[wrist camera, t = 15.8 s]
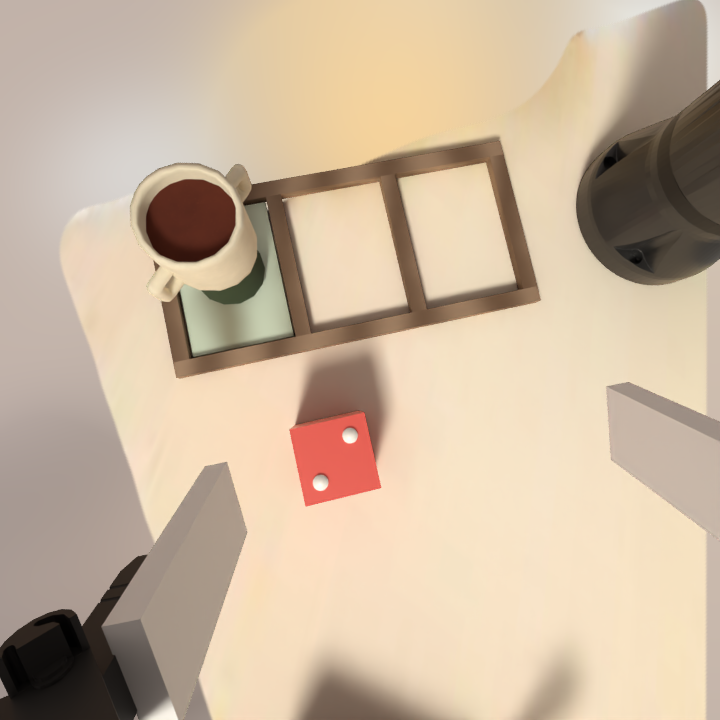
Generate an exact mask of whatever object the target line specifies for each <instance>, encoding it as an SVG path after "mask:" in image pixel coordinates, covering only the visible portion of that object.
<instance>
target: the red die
mask: <svg viewBox="0 0 720 720" xmlns="http://www.w3.org/2000/svg"><path fill="white" fill-rule="evenodd" d="M290 435H291V439H292V444H293V449H294V454H295V458H296V463H297V468H298V473H299V477H300V482H301V487H302V492H303V496H304V501H305V506H310V505H314V504H318V503H322V502H326V501H330V500H334V499H338V498H342V497H346V496H350V495H354V494H358V493H362V492H366V491H371V490H375V489H379V488H381V485H380V480H379V476H378V471H377V467H376V462H375V458H374V453H373V449H372V444H371V440H370V435H369V431H368V427H367V422H366V418H365V413H364V412H362V411H354V412H350V413H346V414H341V415H337V416H332V417H328V418H324V419H319V420H315V421H311V422H306V423H302V424H297V425H294V426H293V427H292V428H291V429H290Z"/></svg>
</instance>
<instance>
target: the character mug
mask: <svg viewBox="0 0 720 720" xmlns="http://www.w3.org/2000/svg"><path fill="white" fill-rule="evenodd" d="M251 186H252V185H251V182H250V179H249V177H248V174H247V171H246V170H245V168H244V167H243V166H242V165H239V164H236V165H234V167H232V168H231V170H230V171H229V173H228V174H227V175H226V177H224V176H223V175H222V174H221V173H220V172H219V171H217V170H214V169H212V168H209V167H207V166H204V165H201V164H198V163H175V164H172V165H168V166H165V167H162V168H159V169H157V170H156V171H154V172H153V173H151V174H150V175H148V176H147V177H146V178H145V179H144V180H143V181H142V182H141V183H140V184H139V186H138V188H137V189H136V191H135V193H134V196H133V199H132V202H131V205H130V221H131V227H132V230H133V232H134V234H135V237H136V239H137V241H138V244H139V245H140V247H141V248H142V249H143V250H144V251H145V252H146V253H147V254H148V255H149V256H150V257H151V258H152V259H153V260H154V261H155V262H156V263H157V264H158V265H160V267H159V268H158V269H157V271H156V272H155V274H154V275H153V276H152V278H151V279H150V280H149V282H148V284H147V286H146V287H147V290H148V291H149V293H150V294H151V295H152V296H154V297H156V298H157V299H159V300H161V301H164V302H170V301H171V300H172V299H173V298H174V297H175V296H176V295H177V293H178V292H179V291H180V289H181V288H182V287H183V285H184V284H186V285H188V286H191V287H193V288H195V289H198V290H201V291H202V292H203V293H204V294H205V295H206V296H207V297H208V298H209V299H210V300H213V301H216V302H219V303H221V304H224V305H226V304H241V303H242V302H244V301H246V300H248V299H250V298H252V297H254V296H255V294H256V293H257V292H258V290H259V289H260V287H261V286H262V284H263V280H264V273H265V266H264V263H263V260H262V257H261V254H260V253H259V251H258V250H257V235H256V233H255V231H254V228H253V226H252V224H251V221H250V219H249V217H248V214H247V212H246V210H245V207H244V205H243V202H244V200H245V199H246V198H247V196H248V195H249V193H250V191H251ZM172 275H173V276H172Z"/></svg>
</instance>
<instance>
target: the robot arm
mask: <svg viewBox="0 0 720 720" xmlns="http://www.w3.org/2000/svg"><path fill="white" fill-rule="evenodd" d="M577 217H578V222H579V226H580V230H581V233H582V235H583V237H584V240H585V242H586V243H587V245H588V247H589V249H590V250H591V252H592V253H593V254H594V256H595V257H596V258H597V259H598V260H599V261H600V262H601V263H602V264H603V265H604V266H605V267H606V268H608V269H609V270H610V271H612V272H613V273H615V274H616V275H618V276H620V277H622V278H624V279H626V280H629V281H632V282H635V283H639V284H645V285H663V284H669V283H673V282H676V281H679V280H682V279H685V278H688V277H690V276H693V275H696V274H698V273H700V272H702V271H703V270H705V269H707V268H708V267H710V266H711V265H713V264H714V263H715V262H716V261H717V260H719V259H720V80H719V81H718V82H717V83H716V84H715V85H713V86H712V87H711V88H710V89H708V90H707V91H706V92H705V93H703V94H702V95H701V96H700V97H699V98H697V99H696V100H695V101H694V102H692V103H691V104H690V105H689V106H688V107H686V108H685V109H684V110H683V111H681V112H680V113H679V114H678V115H676V116H674V117H672V118H669V119H667V120H664V121H661V122H659V123H656V124H654V125H651V126H649V127H646V128H643V129H641V130H638V131H636V132H633V133H631V134H628V135H626V136H624V137H623V138H621V139H619V140H618V141H616V142H615V143H613V144H612V145H611V146H610V147H609V148H607V149H606V150H605V151H604V152H603V153H602V154H601V155H600V156H598V157H597V158H596V159H595V160H594V161H593V163H592V164H591V165H590V166H589V168H588V169H587V171H586V172H585V174H584V176H583V178H582V181H581V183H580V187H579V191H578V196H577ZM606 390H607V406H608V422H609V437H610V453H611V460H612V461H613V462H615V463H616V464H617V465H619V466H620V467H621V468H623V469H624V470H625V471H627V472H628V473H629V474H631V475H632V476H633V477H635V478H636V479H637V480H639V481H640V482H641V483H643V484H644V485H645V486H647V487H648V488H649V489H651V490H652V491H653V492H655V493H656V494H657V495H659V496H660V497H661V498H663V499H664V500H665V501H667V502H668V503H669V504H671V505H672V506H673V507H675V508H676V509H677V510H679V511H680V512H681V513H683V514H684V515H685V516H687V517H688V518H689V519H691V520H692V521H693V522H695V523H696V524H697V525H699V526H700V527H701V528H703V529H704V530H705V531H707V532H708V533H710V534H711V535H712V536H713V537H715V538H716V539H717V540H719V541H720V422H719V421H717V420H715V419H712V418H710V417H708V416H705V415H703V414H701V413H698V412H696V411H694V410H692V409H689V408H687V407H685V406H682V405H680V404H678V403H675V402H673V401H671V400H668V399H666V398H664V397H662V396H659V395H657V394H655V393H652V392H650V391H648V390H645V389H643V388H641V387H639V386H636V385H634V384H632V383H629V382H626V383H621V384H616V385H611V386H606ZM246 534H247V529H246V526H245V522H244V519H243V515H242V512H241V509H240V505H239V502H238V498H237V495H236V491H235V488H234V484H233V481H232V478H231V474H230V471H229V467H228V464H227V462H225V463H220V464H215V465H210V466H205V467H204V469H203V470H202V472H201V473H200V475H199V476H198V478H197V479H196V481H195V483H194V484H193V486H192V487H191V489H190V490H189V492H188V493H187V495H186V496H185V498H184V500H183V501H182V503H181V504H180V506H179V507H178V509H177V510H176V512H175V514H174V515H173V517H172V518H171V520H170V521H169V523H168V524H167V526H166V527H165V529H164V531H163V532H162V534H161V535H160V537H159V538H158V540H157V541H156V543H155V545H154V546H153V548H152V549H151V551H150V552H149V554H148V555H143V556H138V557H136V558H135V559H134V560H133V561H132V562H131V563H130V564H128V565H127V566H126V567H125V568H124V569H123V570H122V571H120V573H119V574H118V576H117V577H116V579H115V580H114V581H113V583H112V584H111V586H110V590H107V591H106V593H105V594H104V596H103V597H102V599H101V602H100V603H98V604H97V606H96V607H95V609H94V610H93V612H92V613H91V614H90V616H89V617H88V619H87V620H86V622H85V623H84V624H83V626H81V624H80V621H79V619H78V616H77V614H76V613H75V612H74V611H72V610H67V609H66V610H65V609H61V610H57V611H53V612H50V613H47V614H45V615H43V616H41V617H38V618H36V619H34V620H32V621H31V622H29V623H28V624H26V625H25V626H23V627H22V628H20V629H19V630H17V631H16V632H15V633H14V634H13V635H12V636H10V637H9V638H8V639H7V640H6V641H5V642H4V643H3V645H2V646H1V647H0V678H1V680H2V682H3V685H4V687H5V689H6V691H7V693H8V696H6V697H4V698H1V699H0V720H133V719H134V717H135V715H136V714H137V716H138V719H139V720H184V718H185V715H186V712H187V709H188V706H189V703H190V700H191V697H192V694H193V691H194V689H195V685H196V683H197V680H198V677H199V674H200V671H201V668H202V665H203V662H204V659H205V656H206V653H207V650H208V647H209V644H210V641H211V638H212V635H213V632H214V629H215V626H216V623H217V620H218V617H219V614H220V611H221V609H222V606H223V603H224V600H225V597H226V594H227V591H228V588H229V585H230V582H231V579H232V576H233V573H234V570H235V567H236V564H237V561H238V558H239V555H240V552H241V549H242V546H243V543H244V540H245V537H246Z"/></svg>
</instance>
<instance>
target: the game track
mask: <svg viewBox="0 0 720 720" xmlns="http://www.w3.org/2000/svg"><path fill="white" fill-rule="evenodd" d="M484 162H486V163H487V167H488V171H489V175H490V179H491V183H492V187H493V191H494V195H495V199H496V203H497V207H498V211H499V215H500V219H501V223H502V227H503V231H504V235H505V238H506V242H507V246H508V250H509V254H510V258H511V262H512V266H513V270H514V274H515V278H516V282H517V286H518V290H516V291H511V292H507V293H502V294H497V295H492V296H488V297H483V298H478V299H473V300H468V301H464V302H459V303H454V304H449V305H445V306H440V307H435V308H430V309H427V307H426V303H425V299H424V295H423V291H422V286H421V282H420V278H419V274H418V269H417V265H416V261H415V257H414V253H413V248H412V244H411V240H410V236H409V232H408V227H407V223H406V219H405V215H404V210H403V206H402V202H401V198H400V194H399V189H398V185H397V181H396V178H401V177H407V176H412V175H418V174H423V173H429V172H435V171H440V170H446V169H451V168H457V167H462V166H468V165H473V164H479V163H484ZM373 182H380V186H381V191H382V195H383V199H384V203H385V208H386V212H387V216H388V221H389V225H390V229H391V233H392V238H393V242H394V246H395V250H396V255H397V259H398V263H399V267H400V272H401V276H402V280H403V285H404V289H405V293H406V297H407V302H408V306H409V310H410V313H407V314H402V315H397V316H392V317H387V318H383V319H378V320H373V321H368V322H364V323H359V324H354V325H349V326H345V327H340V328H335V329H330V330H326V331H321V332H316V333H311V331H310V326H309V321H308V317H307V312H306V308H305V303H304V298H303V294H302V289H301V285H300V280H299V275H298V271H297V266H296V262H295V257H294V252H293V248H292V243H291V239H290V234H289V229H288V225H287V220H286V216H285V211H284V206H283V202H282V199H285V198H290V197H296V196H301V195H307V194H312V193H318V192H323V191H329V190H335V189H340V188H346V187H351V186H357V185H362V184H368V183H373ZM262 202H263V203H262ZM265 202H267V204H268V209H269V214H270V218H271V223H272V228H273V232H274V237H275V242H276V246H277V251H278V256H279V260H280V265H281V270H282V274H283V279H284V284H285V288H286V293H287V298H288V302H289V307H290V311H291V316H292V321H293V325H294V330H295V335H296V337H294V334H293V329H292V324H291V320H290V315H289V310H288V306H287V301H286V296H285V292H284V287H283V282H282V278H281V273H280V268H279V264H278V259H277V254H276V250H275V245H274V240H273V236H272V231H271V227H270V222H269V217H268V213H267V208H266V203H265ZM251 204H252V205H251ZM243 205H244V207H245V210H246V212H247V214H248V217H249V219H250V221H251V224H252V226H253V228H254V231H255V233H256V235H257V250H258V251H259V253H260V254H261V257H262V260H263V263H264V266H265V273H264V280H263V284H262V286H261V287H260V289H259V290H258V292H257V293H256V294H255V296H254V297H252V298H250V299H248V300H246V301H244V302H242V303H241V304H226V305H224V304H221V303H219V302H216V301H213V300H210V299H209V298H208V297H207V296H206V295H205V294H204V293H203V292H202V291H201V290H198V289H195V288H193V287H191V286H188V285H186V284H184V285H183V287H182V288H181V289H180V293H181V298H182V303H183V308H184V313H185V318H186V323H187V328H188V334H189V339H190V344H191V349H192V354H193V357H197V358H192V354H191V349H190V344H189V339H188V334H187V329H186V324H185V319H184V314H183V308H182V303H181V298H180V293H179V292H178V293H177V295H176V296H175V297H174V298H173V299H172V300H171V301H170V302H164V301H161V302H162V307H163V312H164V317H165V322H166V327H167V333H168V338H169V343H170V348H171V353H172V358H173V364H174V369H175V374H176V378H184V377H189V376H194V375H198V374H203V373H208V372H212V371H217V370H222V369H226V368H231V367H236V366H241V365H245V364H250V363H255V362H259V361H264V360H269V359H273V358H278V357H283V356H287V355H292V354H297V353H301V352H306V351H311V350H315V349H320V348H325V347H330V346H334V345H339V344H344V343H348V342H353V341H358V340H362V339H367V338H372V337H376V336H381V335H386V334H390V333H395V332H400V331H405V330H409V329H414V328H419V327H423V326H428V325H433V324H437V323H442V322H447V321H451V320H456V319H461V318H465V317H470V316H475V315H479V314H484V313H489V312H494V311H498V310H503V309H508V308H512V307H517V306H522V305H526V304H531V303H536V302H538V301H540V300H541V299H540V295H539V291H538V287H537V283H536V279H535V276H534V272H533V268H532V264H531V260H530V256H529V252H528V248H527V244H526V240H525V236H524V233H523V229H522V225H521V221H520V217H519V213H518V209H517V205H516V201H515V197H514V194H513V190H512V186H511V182H510V178H509V174H508V170H507V166H506V162H505V158H504V154H503V151H502V147H501V143H500V141H496V142H490V143H485V144H479V145H473V146H468V147H462V148H456V149H451V150H445V151H439V152H434V153H428V154H422V155H417V156H411V157H405V158H400V159H394V160H388V161H383V162H377V163H371V164H365V165H360V166H354V167H348V168H343V169H337V170H332V171H326V172H320V173H314V174H309V175H303V176H297V177H292V178H286V179H280V180H275V181H269V182H263V183H258V184H252V186H251V191H250V193H249V195H248V196H247V198H246V199H245V200H244V202H243ZM154 266H155V271H157V269H158V268H159V267H160V265H158V264H157V263H156V262H155V261H154ZM172 276H173V275H172ZM290 337H292V338H290ZM285 338H287V339H285ZM280 339H283V340H280ZM275 340H278V341H275ZM271 341H273V342H271ZM266 342H268V343H266ZM261 343H264V344H261ZM256 344H259V345H256ZM252 345H254V346H252ZM247 346H249V347H247ZM242 347H245V348H242ZM237 348H240V349H237ZM232 349H235V350H232ZM228 350H230V351H228ZM223 351H225V352H223ZM218 352H221V353H218ZM213 353H216V354H213ZM209 354H211V355H209ZM204 355H206V356H204ZM199 356H202V357H199Z"/></svg>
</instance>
